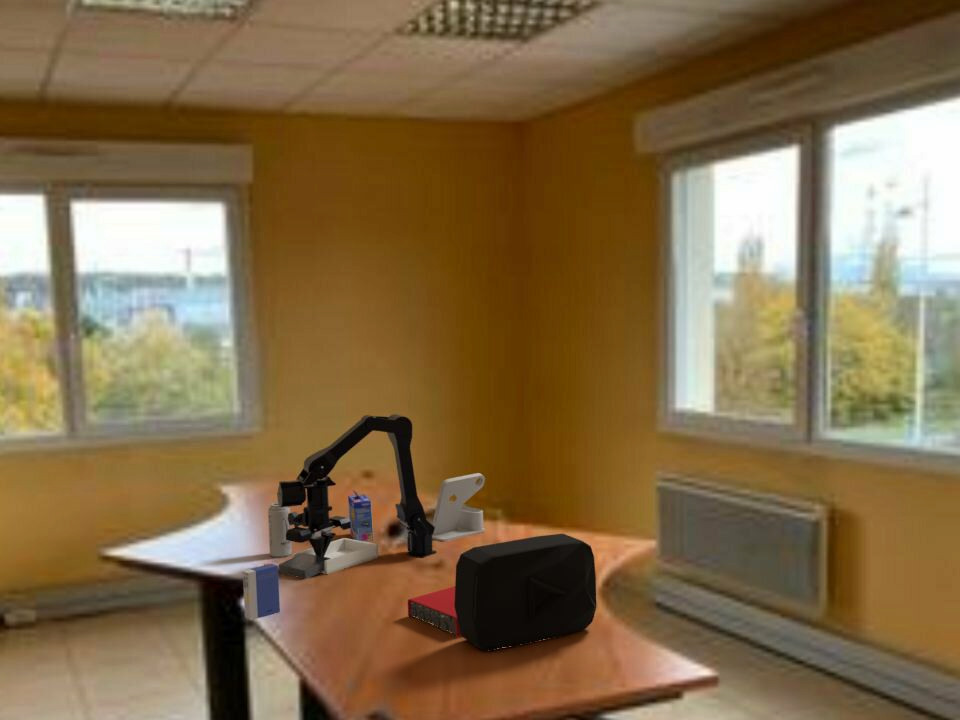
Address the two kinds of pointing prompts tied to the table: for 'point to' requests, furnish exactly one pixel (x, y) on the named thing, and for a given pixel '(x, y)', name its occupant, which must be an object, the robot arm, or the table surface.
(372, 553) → the tray
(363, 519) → the ink cartridge box
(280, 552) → the energy drink can
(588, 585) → the black hard case
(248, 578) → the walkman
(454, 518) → the phone holder
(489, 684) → the table surface
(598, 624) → the table surface
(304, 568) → the cover plate
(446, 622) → the red device housing
